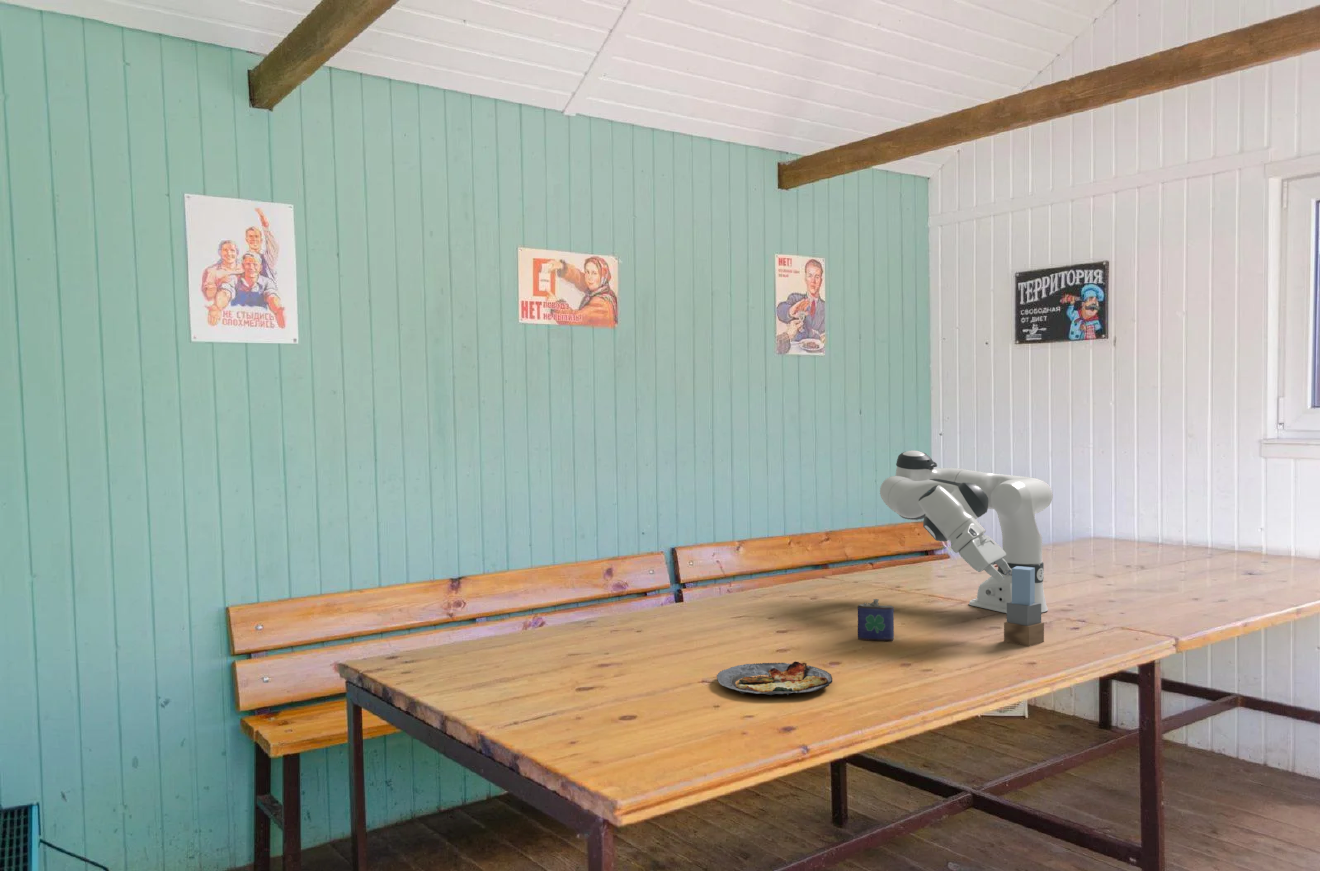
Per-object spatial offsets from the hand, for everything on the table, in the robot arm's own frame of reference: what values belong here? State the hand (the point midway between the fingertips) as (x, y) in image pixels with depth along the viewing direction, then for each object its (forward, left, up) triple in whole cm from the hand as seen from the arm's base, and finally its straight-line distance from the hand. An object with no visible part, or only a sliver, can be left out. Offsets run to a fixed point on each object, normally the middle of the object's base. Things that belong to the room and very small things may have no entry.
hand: (1006, 577), depth 251 cm
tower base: (+4, +2, -16) cm, 17 cm away
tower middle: (+4, +2, -11) cm, 12 cm away
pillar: (+4, +2, -6) cm, 7 cm away
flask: (-22, -25, -16) cm, 37 cm away
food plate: (-10, -75, -17) cm, 78 cm away
